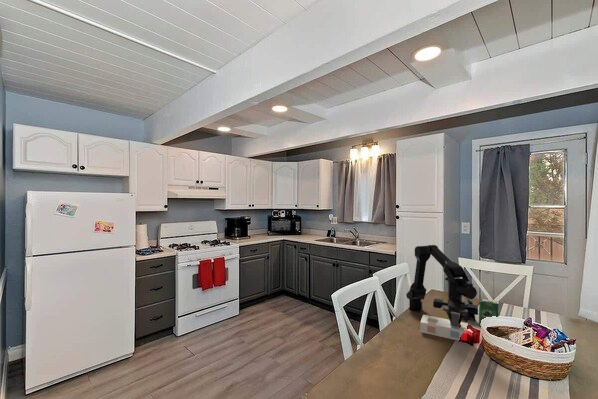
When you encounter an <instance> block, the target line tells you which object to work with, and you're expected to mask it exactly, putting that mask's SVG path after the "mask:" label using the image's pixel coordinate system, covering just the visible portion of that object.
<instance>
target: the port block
mask: <svg viewBox="0 0 598 399" xmlns="http://www.w3.org/2000/svg"><path fill="white" fill-rule="evenodd" d="M460 325H461V327H460V328H459V327H454V326H452V323H451V322H450V320H449V318H448V319H447V318H443V317H439V316H438V317H436V316H431V315H427V314H422V317H421V320H420V323H419V326H420V327H419V328H420V333H422V334H427V335H432V336H435V337H441V338H446V339H450V340H454V341H459V340H460V337H461V335H462V334H463V333H464V332H467V331H464V329H467V326H468V325H469V324H468V322H462V321H461V323H460ZM468 327H469V326H468ZM459 342H460V341H459Z"/></svg>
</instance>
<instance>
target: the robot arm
mask: <svg viewBox="0 0 598 399" xmlns="http://www.w3.org/2000/svg"><path fill="white" fill-rule="evenodd" d="M431 256H432V257H433V258H434V259H435V261H437V263H439V265H440V266H442V270H443V272H444V274H445V275H446V276H447V277H445V278H444V280H445V281H447V289H448V291H447V296H448V299H447V301H444V299H440V298H434V299H433V302H432V306H433V308H435V309H442V311H445V313H446V315H447V316H448V320H450V322H451V323H452V319H451V313H452V312H456V313H459V325H460V323H461V322H462V320H463V319H462V318H463V316H464V315H467V312H469V313H470V314H474V315H475V316H479V305H477V304H474V303H473V304H468V306H465V303H464V302H462V301H463V297H464V298H466V299H469V300H473V299H475V298H476V297H477V295H478V291H477V289H476V288H475V287H474V284H473V283H471V282H470V280H469V277H468V275H467V274H466V272H465V269H464V268H463V266H461V265H460V264H459V263H457V262H455V261H452V260H451V259H450V258H449V257H448V256H447V255H445V253H444V252H443V251H442V250H440V249H439V246H438V245H436V244H428V245H420V246H419V245H417V246H415V248H414V257H415V259H416V264H415V272H414V279H413V283H411V285H410V287H409V290H408V291H407V292H406V298H407V299H408V300H409V301H408V302H409V304H408V305H409V306H408V310H410V311H415V312H421V311H422V310H423V301H422V300H425V297H426V295H427V288H425V285H424V281H425V272H426V268H427V267H426V266H427V262H428V261H429V259H431Z"/></svg>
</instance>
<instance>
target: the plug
mask: <svg viewBox="0 0 598 399" xmlns="http://www.w3.org/2000/svg"><path fill="white" fill-rule="evenodd" d="M459 316H460V313H456V312H451V319H452V326H454V327H459Z"/></svg>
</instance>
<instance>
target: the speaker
mask: <svg viewBox="0 0 598 399" xmlns="http://www.w3.org/2000/svg"><path fill="white" fill-rule="evenodd" d="M466 299H467V300H462V302H464V303H465V306H468V304H473V305H474V303H473V301H472V300H471V299H469V298H466ZM470 319H472V320H473V321H474V322H476V321H477V320H476V315H474V314H470V313H469V312H467V315H464V316H463V318H462V320H470Z"/></svg>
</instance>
